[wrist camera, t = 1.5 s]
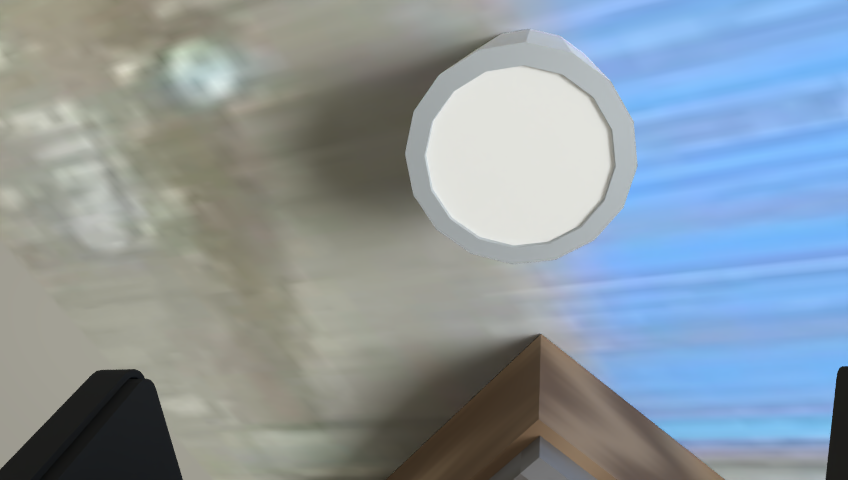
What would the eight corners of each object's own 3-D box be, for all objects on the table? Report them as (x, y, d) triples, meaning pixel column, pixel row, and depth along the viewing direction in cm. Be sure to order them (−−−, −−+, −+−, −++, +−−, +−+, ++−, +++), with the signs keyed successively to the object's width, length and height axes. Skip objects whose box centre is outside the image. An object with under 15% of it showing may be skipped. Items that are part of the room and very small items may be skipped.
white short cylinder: (473, 212, 31) (452, 291, 25) (409, 51, 29) (368, 92, 23) (641, 158, 29) (666, 229, 23) (587, -19, 27) (597, 4, 21)
